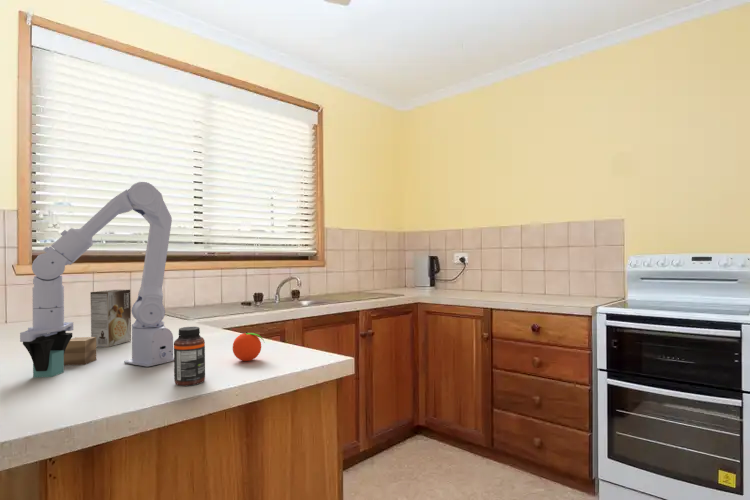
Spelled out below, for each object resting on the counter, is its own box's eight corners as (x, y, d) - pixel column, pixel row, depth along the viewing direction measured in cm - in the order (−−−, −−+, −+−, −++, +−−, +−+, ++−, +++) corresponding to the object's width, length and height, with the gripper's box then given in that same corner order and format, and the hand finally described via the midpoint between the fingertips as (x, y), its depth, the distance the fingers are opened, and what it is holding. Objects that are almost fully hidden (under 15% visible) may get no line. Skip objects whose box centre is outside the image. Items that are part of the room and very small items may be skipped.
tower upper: (84, 352, 111) (84, 340, 111) (63, 353, 110) (63, 341, 110) (96, 348, 116) (96, 336, 116) (75, 349, 115) (75, 337, 115)
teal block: (51, 376, 99) (51, 354, 99) (33, 377, 99) (33, 354, 99) (63, 372, 103) (63, 350, 103) (45, 372, 103) (45, 350, 103)
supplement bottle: (179, 379, 96) (179, 325, 96) (208, 378, 97) (208, 325, 97) (169, 387, 90) (169, 330, 91) (200, 386, 91) (199, 329, 91)
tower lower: (84, 365, 110) (84, 353, 110) (63, 365, 110) (63, 353, 110) (96, 360, 115) (96, 348, 115) (76, 361, 115) (76, 349, 115)
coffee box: (114, 340, 142) (113, 289, 142) (131, 341, 141) (131, 289, 141) (90, 346, 133) (89, 291, 133) (108, 347, 132) (108, 291, 132)
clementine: (269, 357, 116) (269, 329, 116) (259, 364, 109) (259, 334, 109) (239, 357, 116) (239, 329, 117) (227, 364, 110) (227, 334, 110)
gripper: (51, 304, 108) (52, 361, 108) (4, 311, 94) (5, 377, 94) (82, 303, 109) (82, 360, 109) (39, 311, 94) (40, 376, 94)
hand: (48, 368), depth 101 cm, fingers closed on teal block, 4 cm apart
